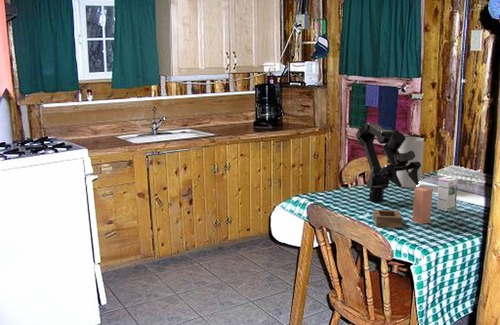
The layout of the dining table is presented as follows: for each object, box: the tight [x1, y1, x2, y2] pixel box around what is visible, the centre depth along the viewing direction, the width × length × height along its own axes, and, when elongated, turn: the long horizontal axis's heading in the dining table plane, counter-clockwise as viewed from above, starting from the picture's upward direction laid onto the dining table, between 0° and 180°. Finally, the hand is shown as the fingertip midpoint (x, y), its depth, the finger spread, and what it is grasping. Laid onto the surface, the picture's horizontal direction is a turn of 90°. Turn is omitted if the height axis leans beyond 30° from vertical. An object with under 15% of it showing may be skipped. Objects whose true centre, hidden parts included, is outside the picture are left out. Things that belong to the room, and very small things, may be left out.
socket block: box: [372, 209, 403, 228], centre depth 214 cm, size 10×10×4 cm
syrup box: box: [436, 176, 459, 212], centre depth 230 cm, size 6×6×14 cm
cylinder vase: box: [396, 136, 425, 189], centre depth 271 cm, size 12×12×25 cm
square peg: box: [412, 186, 433, 225], centre depth 214 cm, size 5×5×14 cm
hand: (409, 185), depth 220 cm, fingers open, 9 cm apart
